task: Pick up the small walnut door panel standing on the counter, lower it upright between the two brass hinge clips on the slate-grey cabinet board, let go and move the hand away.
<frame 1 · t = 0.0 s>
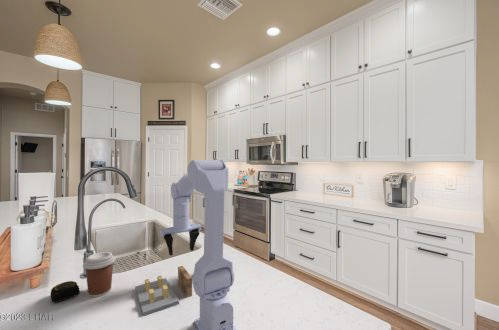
hand: (181, 252, 84), 10 cm above the countertop, fingers open, 7 cm apart
coffee cup: (100, 292, 76), on the countertop
hinge board: (156, 296, 74), on the countertop
door panel: (184, 289, 78), on the countertop
handle: (214, 271, 91), on the countertop
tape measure: (66, 298, 73), on the countertop
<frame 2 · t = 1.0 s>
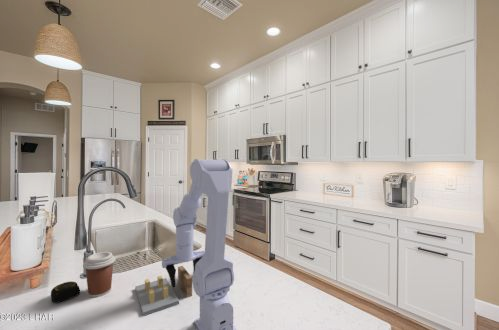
hand: (184, 283, 78), 2 cm above the countertop, fingers open, 7 cm apart
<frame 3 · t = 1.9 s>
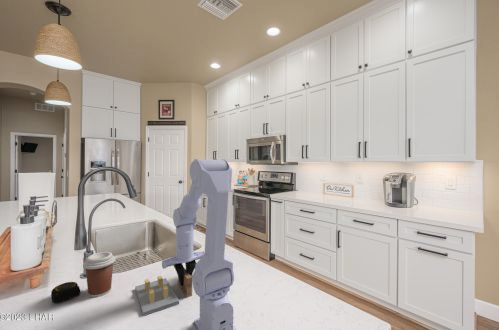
hand: (184, 283, 78), 2 cm above the countertop, fingers closed on door panel, 2 cm apart
door panel: (184, 289, 78), on the countertop, touching gripper
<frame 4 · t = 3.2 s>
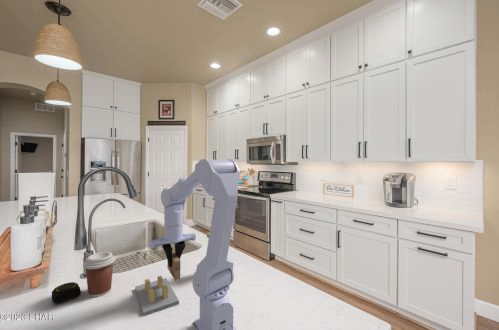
hand: (173, 265, 76), 9 cm above the countertop, fingers closed on door panel
door panel: (173, 273, 76), point 6 cm above the countertop, touching gripper
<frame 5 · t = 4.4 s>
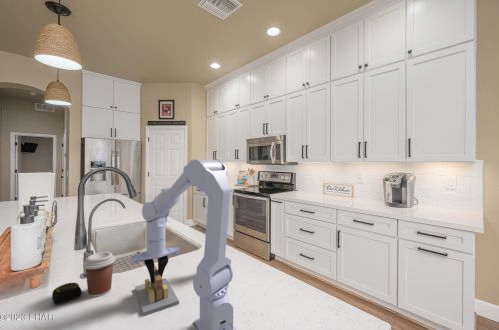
hand: (156, 280, 74), 5 cm above the countertop, fingers closed on door panel, 2 cm apart
door panel: (156, 291, 74), point 2 cm above the countertop, touching gripper
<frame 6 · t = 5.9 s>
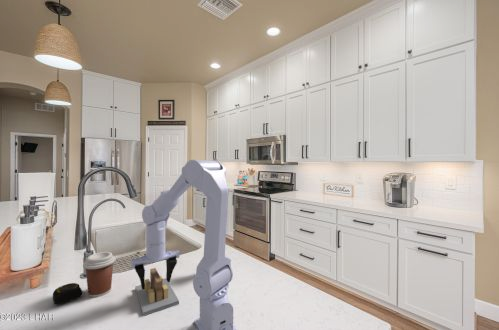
hand: (156, 284, 74), 4 cm above the countertop, fingers open, 7 cm apart
door panel: (156, 293, 74), point 1 cm above the countertop, touching hinge board
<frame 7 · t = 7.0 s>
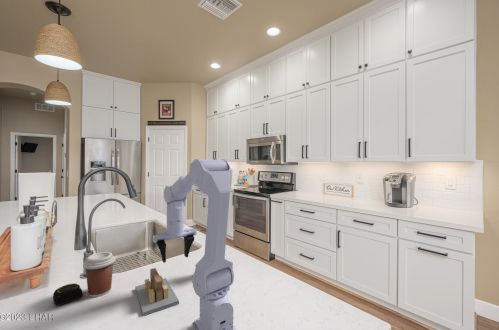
hand: (175, 258, 80), 9 cm above the countertop, fingers open, 7 cm apart
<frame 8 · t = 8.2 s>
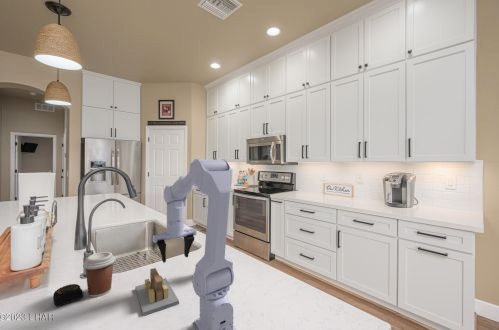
hand: (175, 258, 80), 9 cm above the countertop, fingers open, 7 cm apart
at the end: door panel 0.0 cm off-centre on the hinge board, point 1.0 cm above the hinge board's base; door panel tilted 0°; the gripper is holding nothing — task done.
